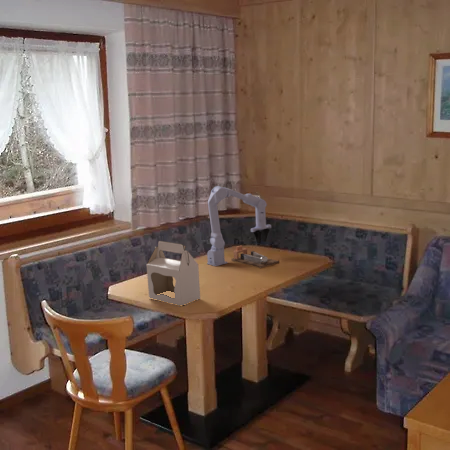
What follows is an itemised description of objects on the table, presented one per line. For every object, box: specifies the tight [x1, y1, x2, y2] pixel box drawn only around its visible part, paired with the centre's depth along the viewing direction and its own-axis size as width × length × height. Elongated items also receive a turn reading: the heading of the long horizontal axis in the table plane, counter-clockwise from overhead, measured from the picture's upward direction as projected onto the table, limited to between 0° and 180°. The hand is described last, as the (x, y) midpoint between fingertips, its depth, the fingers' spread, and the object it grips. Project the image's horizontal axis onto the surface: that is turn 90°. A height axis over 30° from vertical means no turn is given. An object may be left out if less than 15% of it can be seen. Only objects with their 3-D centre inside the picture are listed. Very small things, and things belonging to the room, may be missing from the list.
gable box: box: [146, 240, 201, 305], centre depth 309 cm, size 22×13×28 cm, turn 50°
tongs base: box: [239, 252, 268, 264], centre depth 369 cm, size 19×4×4 cm, turn 40°
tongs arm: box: [250, 250, 264, 257], centre depth 373 cm, size 14×2×3 cm, turn 25°
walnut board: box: [231, 253, 280, 269], centre depth 372 cm, size 25×14×1 cm, turn 40°
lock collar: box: [233, 245, 248, 259], centre depth 378 cm, size 3×8×6 cm, turn 130°
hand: (261, 242), depth 378 cm, fingers open, 4 cm apart
